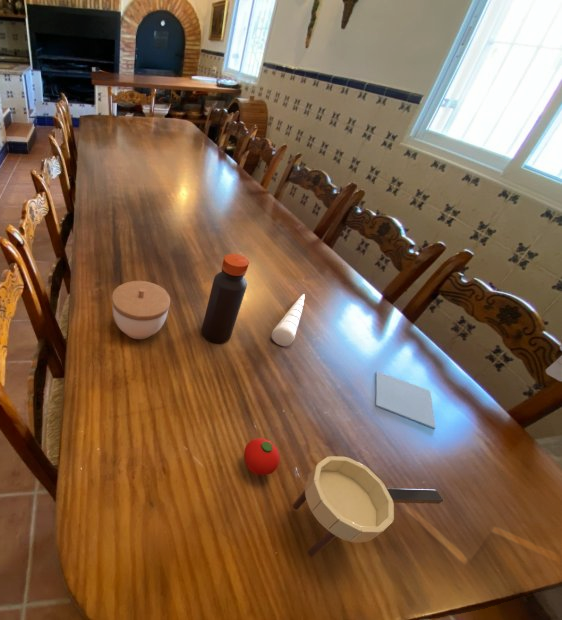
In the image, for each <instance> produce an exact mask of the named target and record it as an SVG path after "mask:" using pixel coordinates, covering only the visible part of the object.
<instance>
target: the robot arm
mask: <svg viewBox="0 0 562 620" xmlns="http://www.w3.org/2000/svg"><path fill="white" fill-rule="evenodd" d="M559 350H560V351H561V352H562V343H561V344H560V346H559ZM545 374H546V375H547V376H550V377H551V378H552V379H555V380H556V381H559V382H562V354H561V355H560V356H559V357H558V358H557V359H556V360H555V361H553V362H552V363H551V364H550V365H548V367H547V368H546V369H545Z"/></svg>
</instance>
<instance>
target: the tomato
mask: <svg viewBox="0 0 562 620" xmlns="http://www.w3.org/2000/svg"><path fill="white" fill-rule="evenodd" d="M280 456H281V455H280V453H279V450H278V448H277V447H276V445H275V444H274V443H273V442H272V441H270V440H268V439H266V438H263V437H262V438H261V437H259V438H258V437H257V438H254V439H252V440H250V441H248V442H247V444H246V446H245V447H244V450H243V458H244V462H245V464H246V467H247V469H248V470H249V471H250V472H251V473H252V474H254V475H256V476H266V475H267V476H268V475H270V474H273V473H274V472H275V471H276V470H277V469H278V467H279V465H280V461H281V457H280Z"/></svg>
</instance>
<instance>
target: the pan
mask: <svg viewBox="0 0 562 620" xmlns="http://www.w3.org/2000/svg"><path fill="white" fill-rule="evenodd" d="M443 502H444V499H443V498H442V496H441V494H440V493H439V491H438V490H437V489H429V488H427V489H426V488H425V489H424V488H421V489H420V488H418V489H417V488H387V487H386V485H385V483H384V482H383V481H382V479H380V477H378V476H377V475H376V474H375V473H374V472H373V471H372V470H371V469H370V468H369V467H368V466H366V465H365V464H364V463H361V462H358V461H357V460H354V459H352V458H350V457H348V456H339V455H338V456H335V455H329V456H326V457H325V458H323V459H322V460H321V461H319V462H318V463H317V464H316V465H315V466H314V467H313V468H312V470H311V471H310V472H309V474H308V475H307V478H306V481H305V483H304V490H303V491H302V492H301V494H300V495H299V496H298V498H297V499H296V500H294V502H293V503H292V508H293V510H296V511H299V510H300V508H301V506H302V505H304V503H306V504H307V505H308V508H309V510H310V512H311V513H312V515H313V516H314V518H315V519H316V521H318V522H319V524H320V525H321V526H322V527H323V528H325V530H327V532H326V533H325V534H323V536H322V537H320V539H318V540H317V541H316V542H315V543H314V544H313V545H312V546H311V547H310V548H308V549H307V555H308V556H309V557H311V558H314V557H315V556H316V555H318V554H319V552H321V551H322V550H323V549H324V548H325V547H326V546H327V545H329V544H330V543H331V542H333V540H334V539H336V538H339V539H341V540H343V541H347V542H350V543H356V544H359V543H361V544H362V543H367V542H370V541H372V540H374V539H376V537H378V536H379V535H381V534H382V533H383V532H384V531H385V530H386V529H387V528H389V526H391V525H392V524H393V523H394V520H395V513H394V512H395V504H432V505H433V504H434V505H436V504H437V505H438V504H440V505H441V503H443Z"/></svg>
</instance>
